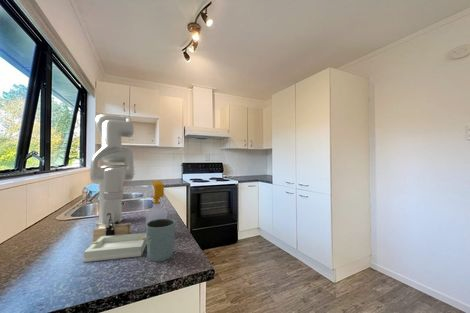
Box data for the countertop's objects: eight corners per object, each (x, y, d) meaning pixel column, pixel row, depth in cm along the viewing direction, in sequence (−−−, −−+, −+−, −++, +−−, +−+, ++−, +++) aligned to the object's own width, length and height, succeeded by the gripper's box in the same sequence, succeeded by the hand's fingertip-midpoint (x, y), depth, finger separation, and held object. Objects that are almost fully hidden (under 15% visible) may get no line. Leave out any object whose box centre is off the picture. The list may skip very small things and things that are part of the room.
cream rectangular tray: (101, 243, 81) (101, 234, 81) (148, 239, 85) (148, 231, 85) (82, 262, 67) (83, 251, 67) (140, 255, 71) (141, 245, 71)
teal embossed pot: (161, 247, 78) (161, 216, 78) (181, 252, 73) (181, 220, 74) (138, 259, 69) (139, 224, 69) (160, 265, 64) (160, 228, 64)
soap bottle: (161, 229, 98) (161, 179, 98) (170, 234, 91) (170, 181, 91) (142, 234, 91) (143, 181, 92) (150, 240, 85) (150, 182, 85)
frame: (99, 236, 89) (99, 225, 89) (130, 233, 92) (130, 222, 92) (93, 241, 83) (93, 229, 83) (127, 238, 86) (127, 227, 86)
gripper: (111, 192, 96) (110, 230, 95) (95, 199, 79) (94, 245, 78) (128, 192, 97) (128, 228, 97) (116, 198, 81) (115, 243, 80)
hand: (113, 235), depth 88 cm, fingers closed on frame, 6 cm apart
